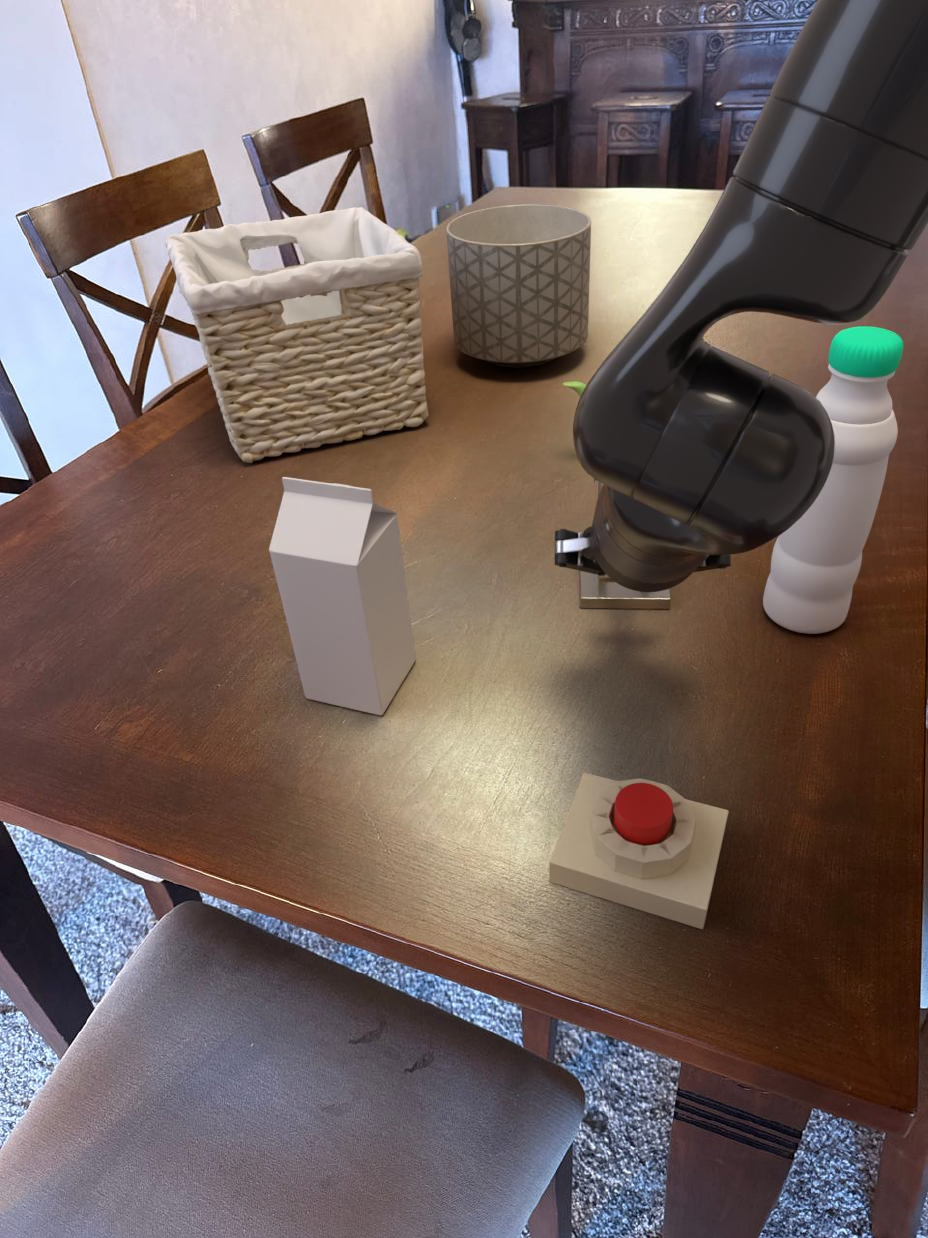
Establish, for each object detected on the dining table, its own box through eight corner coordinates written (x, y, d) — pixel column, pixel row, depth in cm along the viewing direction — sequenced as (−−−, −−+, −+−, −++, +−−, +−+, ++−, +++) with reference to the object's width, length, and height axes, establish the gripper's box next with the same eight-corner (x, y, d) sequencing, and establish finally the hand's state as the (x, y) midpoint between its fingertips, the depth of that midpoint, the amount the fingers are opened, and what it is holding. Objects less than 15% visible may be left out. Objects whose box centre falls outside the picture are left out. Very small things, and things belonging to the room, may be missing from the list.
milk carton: (383, 717, 69) (348, 516, 57) (305, 699, 72) (256, 502, 60) (417, 661, 74) (391, 465, 62) (343, 646, 77) (305, 454, 65)
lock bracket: (669, 609, 78) (683, 485, 70) (580, 608, 79) (584, 486, 71) (660, 546, 86) (672, 428, 77) (579, 546, 86) (582, 429, 78)
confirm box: (548, 882, 57) (548, 845, 54) (583, 792, 62) (584, 754, 60) (703, 930, 53) (710, 893, 51) (724, 830, 59) (732, 792, 56)
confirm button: (607, 835, 55) (608, 818, 54) (621, 794, 57) (623, 776, 56) (664, 852, 54) (666, 834, 53) (676, 808, 56) (678, 790, 55)
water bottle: (862, 616, 75) (946, 335, 60) (809, 648, 73) (882, 362, 57) (797, 578, 80) (858, 309, 64) (744, 608, 77) (795, 333, 62)
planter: (470, 392, 116) (462, 251, 105) (444, 341, 131) (434, 213, 119) (605, 372, 118) (611, 232, 107) (564, 325, 133) (566, 197, 122)
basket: (202, 388, 123) (159, 226, 109) (383, 353, 129) (364, 195, 115) (229, 474, 102) (180, 287, 89) (442, 427, 109) (427, 246, 95)
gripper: (766, 462, 53) (714, 523, 70) (548, 463, 54) (549, 523, 71) (767, 584, 52) (714, 616, 69) (546, 581, 53) (548, 613, 70)
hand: (630, 568), depth 70 cm, fingers closed
